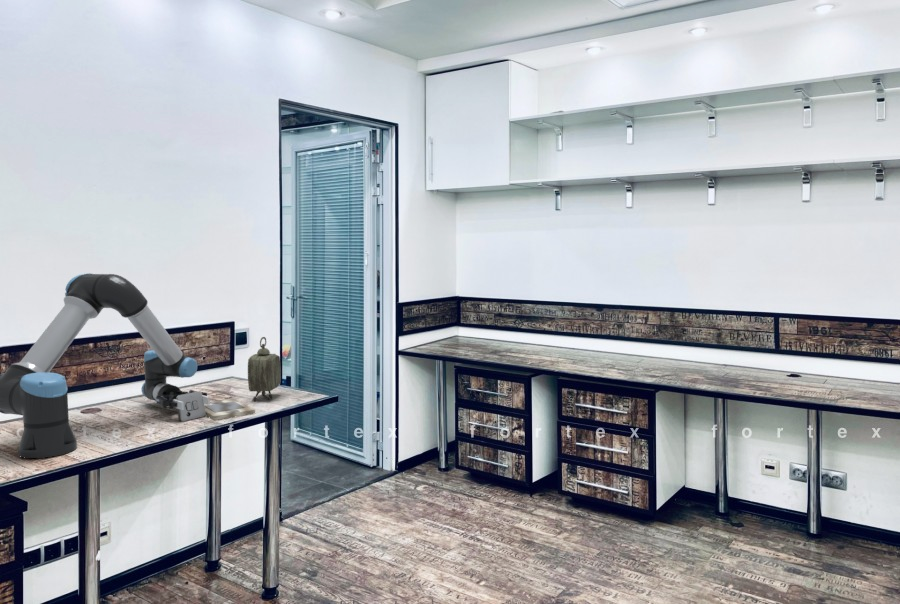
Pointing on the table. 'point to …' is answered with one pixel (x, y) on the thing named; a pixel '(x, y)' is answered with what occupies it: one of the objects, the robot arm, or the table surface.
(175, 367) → the robot arm
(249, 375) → the tabletop clock
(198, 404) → the electrical switch
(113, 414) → the table surface
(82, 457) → the table surface
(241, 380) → the table surface
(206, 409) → the mounting board
